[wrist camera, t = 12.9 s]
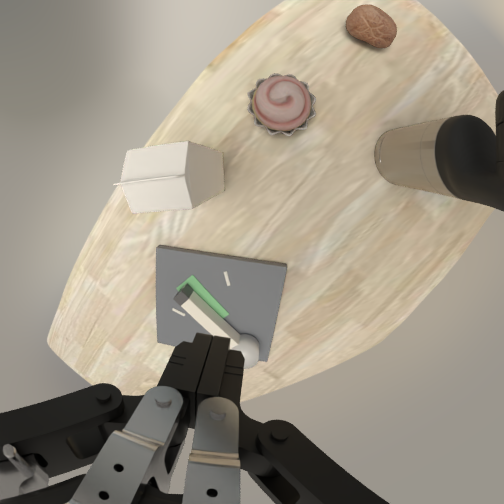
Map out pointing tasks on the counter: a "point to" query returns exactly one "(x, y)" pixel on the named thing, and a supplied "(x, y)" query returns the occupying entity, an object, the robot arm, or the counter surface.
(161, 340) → the board
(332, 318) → the counter surface
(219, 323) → the tuning lever
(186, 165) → the milk
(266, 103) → the cupcake
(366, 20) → the mushroom
